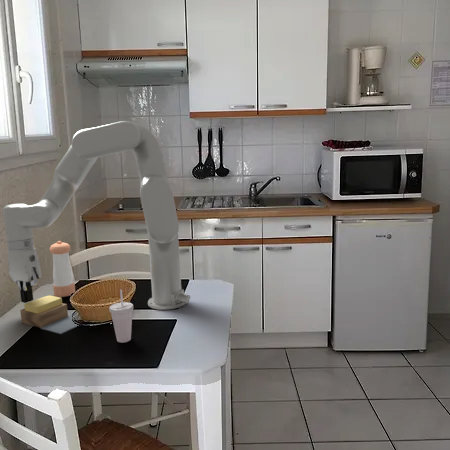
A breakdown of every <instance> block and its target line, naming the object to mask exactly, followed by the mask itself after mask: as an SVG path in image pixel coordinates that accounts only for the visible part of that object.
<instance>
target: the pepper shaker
mask: <svg viewBox="0 0 450 450" xmlns="http://www.w3.org/2000/svg"><path fill="white" fill-rule="evenodd" d="M70 251H71V245H70V244H69V243H67V242H62V241H61V240H58V241H57V242H55V243H53V244H51V245H50V247H49V252H50V254H52V264H53V266H52V267H53V269H52V278H53V285H52V286H53V287H52V289H53V296H55V297H60V298H65V297H69V296H72V295H71V294H72V293H74V292H75V293H76V285H75V281H74V276H73V275H74V274H73V271H72V267H71V262H70V260H71V259H70V255H69V254H70ZM75 293H74V294H75Z"/></svg>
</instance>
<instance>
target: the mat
mask: <svg viewBox="0 0 450 450" xmlns="http://www.w3.org/2000/svg"><path fill="white" fill-rule="evenodd" d="M72 316H73V315H71V314H70V315H69V314H68V316H67V317H65V318H62V319H60V320H58V321H55V322H53V323H51V324H48V325H46V326H44V327H41V328H40V330H44V331H48V332H50V333H51V332H52V333H55V334H58V335H62V334H65V333H66V332H69V331H71V330H73V329H76V328H77V326H78V327H80V326H79V325H77V324H74V323H73V321H72Z"/></svg>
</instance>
